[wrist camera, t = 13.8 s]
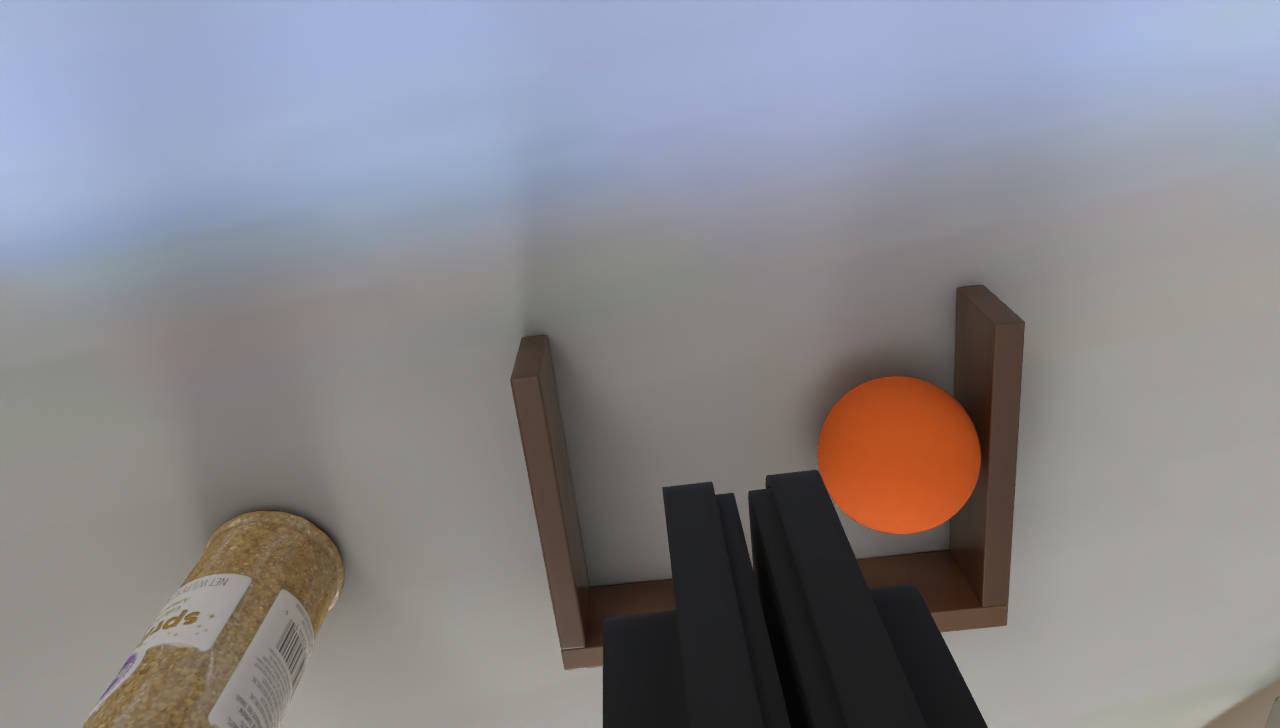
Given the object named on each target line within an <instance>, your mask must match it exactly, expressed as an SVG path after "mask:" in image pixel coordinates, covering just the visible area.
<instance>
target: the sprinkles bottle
mask: <svg viewBox="0 0 1280 728" xmlns="http://www.w3.org/2000/svg"><path fill="white" fill-rule="evenodd" d="M343 577H344V568H343V563H342V560H341V557H340V554H339V551H338V550H337V548H336V546H335V545H334V544H333V542H332V541H331V539H330V538H329V537H328V536H327V535H326V534H325V533H324V532H322V531H321V530H320V529H318V528H317V527H316V526H315V525H314V524H312V523H311V522H309V521H308V520H306V519H304V518H303V517H299V516H295V515H292V514H289V513H287V512H280V511H255V512H252V513H250V512H247V513H243V514H241V515H238V516H236V517H234V518H233V519H231V520H229V521H228V522H226V523H225V524H223V525H221V527H220V528H218V529H217V530H216V531H214V532H213V534H212V536H211V538H210V539H209V541H208V542H207V544H206V546H205V548H204V552H203V555H202V557H201V558H200V560H199V561H198V563H197V564H196V566H195V567H194V568H193V570H192V571H191V572H190V574H189V575H188V577H187V579H186V580H185V581H184V583H183V584H182V585H181V587H180V589H179V590H178V591H177V592H175V593H174V594H173V596H172V597H171V598H170V599H169V601H168V602H167V603H166V605H165V606H164V608H163V609H162V610H161V612H160V613H159V615H158V616H157V618H156V619H155V620H154V622H153V623H152V625H151V626H150V628H149V629H148V631H147V632H146V634H145V635H144V637H143V638H142V640H141V641H140V643H139V644H138V646H137V647H136V649H135V650H134V652H133V653H132V654H131V656H130V657H129V659H128V660H127V662H126V663H125V665H124V666H123V668H122V669H121V671H120V672H119V673H118V675H117V676H116V678H115V679H114V680H113V682H112V683H111V685H110V686H109V688H108V689H107V690H106V692H105V693H104V694H103V696H102V697H101V699H100V700H99V702H98V703H97V704H96V706H95V707H94V708H93V710H92V711H91V713H90V714H89V715H88V717H87V719H86V721H85V722H84V726H83V728H279V725H280V723H281V721H282V719H283V716H284V714H285V712H286V710H287V708H288V705H289V703H290V701H291V699H292V696H293V694H294V692H295V690H296V687H297V685H298V683H299V681H300V678H301V676H302V674H303V672H304V669H305V667H306V665H307V663H308V660H309V658H310V656H311V653H312V650H313V644H314V640H315V637H316V636H317V634H318V632H319V630H320V627H321V625H322V622H323V620H324V619H325V617H326V615H327V613H328V612H329V611H330V610H331V609H332V607H333V606H334V604H335V603H336V601H337V600H338V598H339V596H340V593H341V589H342V587H343V582H344V579H343Z"/></svg>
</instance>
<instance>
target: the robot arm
mask: <svg viewBox="0 0 1280 728" xmlns="http://www.w3.org/2000/svg"><path fill="white" fill-rule="evenodd" d="M663 496H664V505H665V514H666V523H667V532H668V541H669V550H670V559H671V568H672V577H673V586H674V595H675V604H676V610H671V611H662V612H653V613H644V614H635V615H626V616H617V617H609V618H604V622H603V728H988V727H987V725H986V723H985V721H984V719H983V717H982V715H981V713H980V711H979V709H978V707H977V705H976V703H975V701H974V699H973V697H972V695H971V693H970V691H969V689H968V687H967V685H966V683H965V681H964V679H963V677H962V675H961V673H960V671H959V669H958V667H957V665H956V663H955V661H954V659H953V657H952V655H951V653H950V651H949V649H948V647H947V645H946V643H945V641H944V639H943V637H942V635H941V633H940V631H939V629H938V627H937V625H936V623H935V621H934V619H933V617H932V615H931V613H930V611H929V609H928V607H927V605H926V603H925V601H924V599H923V597H922V595H921V594H920V592H919V591H918V589H917V588H916V587H915V586H914V585H912V584H911V583H910V584H901V585H892V586H883V587H874V588H868V586H867V584H866V582H865V579H864V577H863V574H862V572H861V570H860V567H859V565H858V563H857V560H856V558H855V555H854V553H853V551H852V548H851V546H850V544H849V541H848V539H847V536H846V534H845V532H844V529H843V527H842V525H841V522H840V520H839V517H838V515H837V513H836V510H835V508H834V506H833V503H832V501H831V498H830V496H829V494H828V491H827V489H826V487H825V484H824V482H823V479H822V477H821V475H820V473H819V471H818V470H810V471H802V472H793V473H784V474H775V475H767V477H766V489H762V490H753V491H749V494H748V499H749V515H750V528H751V542H752V556H753V569H754V574H753V570H752V566H751V562H750V558H749V553H748V549H747V545H746V541H745V537H744V533H743V529H742V525H741V521H740V517H739V512H738V508H737V504H736V500H735V496H734V493H727V494H718V495H715V492H714V488H713V484H712V482H705V483H697V484H688V485H679V486H670V487H663Z"/></svg>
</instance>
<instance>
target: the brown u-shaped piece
mask: <svg viewBox="0 0 1280 728" xmlns="http://www.w3.org/2000/svg"><path fill="white" fill-rule="evenodd" d="M1024 326H1025V322H1024V321H1023V320H1022V319H1021V318H1020V317H1019V316H1018V315H1017V314H1015V313H1014V312H1013V311H1012V310H1011V309H1010V308H1009V307H1008V306H1006V305H1005V304H1004V303H1003V302H1002V301H1001V300H1000V299H999V298H998V297H996V296H995V295H994V294H993V293H992V292H991V291H990V290H989V289H987V288H986V287H985V286H984V285H980V286H971V287H962V288H957V309H956V347H955V384H954V398H955V399H956V400H957V401H958V402H959V403H960V404H961V406H962V407H963V408H964V409H965V411H966V412H967V413H968V415H969V417H970V418H971V420H972V422H973V424H974V426H975V429H976V432H977V434H978V438H979V443H980V450H981V466H980V472H979V477H978V480H977V483H976V485H975V488H974V490H973V492H972V494H971V496H970V497H969V499H968V500H967V501H966V503H965V504H964V506H963V507H962V508H961V509H960V510H959V511H958V512H957V513H956V514H955V515H953V516H952V517H951V533H950V550H948V551H938V552H928V553H919V554H909V555H900V556H890V557H880V558H871V559H861V560H857V563H858V565H859V567H860V570H861V572H862V574H863V577H864V579H865V582H866V584H867V586H868V588H874V587H883V586H892V585H901V584H910V583H911V584H912V585H914V586H915V587H916V588H917V589H918V591H919V592H920V594H921V595H922V597H923V599H924V601H925V603H926V605H927V607H928V609H929V611H930V613H931V615H932V617H933V619H934V621H935V623H936V625H937V627H938V629H939V631H940V632H948V631H958V630H968V629H978V628H988V627H998V626H1006V625H1007V612H1008V605H1007V604H1008V597H1009V580H1010V563H1011V546H1012V529H1013V512H1014V495H1015V478H1016V462H1017V445H1018V428H1019V411H1020V394H1021V377H1022V360H1023V343H1024ZM510 382H511V387H512V392H513V397H514V403H515V408H516V413H517V419H518V424H519V429H520V435H521V440H522V445H523V451H524V456H525V461H526V466H527V472H528V477H529V482H530V488H531V493H532V498H533V504H534V509H535V514H536V520H537V525H538V530H539V535H540V541H541V546H542V551H543V557H544V562H545V567H546V573H547V578H548V583H549V589H550V594H551V599H552V604H553V610H554V615H555V620H556V626H557V631H558V636H559V642H560V647H561V653H562V658H563V664H564V669H565V670H575V669H584V668H594V667H603V622H604V618H609V617H617V616H626V615H635V614H644V613H653V612H662V611H671V610H676V604H675V595H674V586H673V579H669V580H660V581H650V582H641V583H631V584H622V585H612V586H602V587H593V588H589V587H590V586H589V580H588V574H587V568H586V562H585V556H584V550H583V544H582V538H581V532H580V526H579V520H578V514H577V508H576V502H575V496H574V490H573V484H572V478H571V472H570V466H569V460H568V454H567V448H566V442H565V436H564V430H563V424H562V418H561V412H560V406H559V400H558V394H557V388H556V382H555V376H554V370H553V364H552V358H551V352H550V346H549V340H548V337H547V335H540V336H531V337H523V338H522V339H521V343H520V346H519V350H518V354H517V357H516V361H515V365H514V368H513V372H512V376H511V380H510ZM753 574H754V571H753Z"/></svg>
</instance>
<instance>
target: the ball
mask: <svg viewBox="0 0 1280 728" xmlns="http://www.w3.org/2000/svg"><path fill="white" fill-rule="evenodd" d="M817 454H818V465H819V470H820V474H821V477H822V479H823V482H824V484H825V487H826V489H827V491H828V493H829V494H830V496H831V497H832V499H833V500H834V502H835V503H836V504H837V505H838V506H839V507H840V508H841V509H842V510H843V511H844V512H845V513H846V514H847V515H848V516H850V517H851V518H852V519H854V520H855V521H857V522H858V523H860V524H862V525H864V526H866V527H868V528H871V529H874V530H877V531H881V532H885V533H891V534H913V533H918V532H922V531H926V530H929V529H931V528H934V527H936V526H939V525H940V524H942V523H944V522H945V521H947V520H949V519H950V518H951V517H952V516H953V515H955V514H956V513H957V512H958V511H959V510H960V509H961V508H962V507H963V506H964V504H965V503H966V501H967V500H968V499H969V497H970V496H971V494H972V492H973V490H974V488H975V485H976V483H977V480H978V477H979V472H980V466H981V450H980V443H979V438H978V434H977V432H976V429H975V426H974V424H973V422H972V420H971V418H970V417H969V415H968V413H967V412H966V411H965V409H964V408H963V407H962V406H961V404H960V403H959V402H958V401H957V400H956V399H955V398H954V397H952V396H951V395H950V394H949V393H947V392H946V391H944V390H943V389H941V388H940V387H938V386H936V385H934V384H932V383H929V382H927V381H924V380H921V379H917V378H912V377H906V376H889V377H881V378H877V379H873V380H870V381H867V382H865V383H863V384H861V385H859V386H857V387H855V388H854V389H852V390H850V391H849V392H848V393H846V394H845V395H844V396H843V397H842V398H841V399H840V400H839V401H838V402H837V403H836V404H835V405H834V406H833V408H832V409H831V411H830V412H829V414H828V415H827V417H826V419H825V421H824V423H823V426H822V429H821V432H820V436H819V441H818V453H817Z"/></svg>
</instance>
